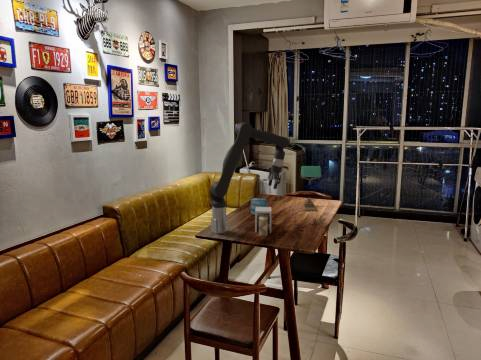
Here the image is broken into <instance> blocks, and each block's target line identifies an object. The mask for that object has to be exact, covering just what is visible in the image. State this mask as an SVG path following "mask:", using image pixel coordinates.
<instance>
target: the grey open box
mask: <svg viewBox="0 0 481 360" xmlns="http://www.w3.org/2000/svg"><path fill="white" fill-rule="evenodd" d="M257 228H259V215H257ZM268 228H269V229H270V215H268V221H267V229H268Z"/></svg>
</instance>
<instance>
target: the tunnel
mask: <svg viewBox="0 0 481 360" xmlns="http://www.w3.org/2000/svg"><path fill="white" fill-rule="evenodd" d="M257 213H266V214H269V216H270V228H269V234H271V233H272V207H271V206H267V207H256V209H255V215H254V219H255V220H254V224H255V225H254V232H255V234H256V233H257V234H258V227H257Z"/></svg>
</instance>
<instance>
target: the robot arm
mask: <svg viewBox="0 0 481 360" xmlns="http://www.w3.org/2000/svg"><path fill="white" fill-rule="evenodd" d="M234 131H235V134H236V135H237V136H236V139H235V141H234V142H233V144H232V145H231V146H230V147H229V149H228V151H227V152H226V153H225V154H226V155H225V156H224V158H223V163H222V171H221V175H220V177H219V180H218V181H214V182H213V183H211V185H210V189H209V191H210V192H209V193H210V202H211V216H212V217H210V230H211V232H212V233H213V234H216V235H217V234H218V235H219V234H225V233H227V201H226V200H225V196H226V194H227V193H228V191H229V188H230V184H231V181H232V179H233V175H234V174H235V171H236V168H237V166H238V164H239V161H240V159H241V157H242V154H243V152H244V150H245V147H246V145H247V142H248V141H249V140H250V138H252V139H256V140H259V141H260V142H261V141H262V142H264V143H268V144H270V145H274V151H275V152H274V155H273V159H272V164H271V168H270V170H269V174H268V177H267V180H269V181H268V184H267V185H268V186H269V187H271V186H272V185H273V189H274V190H277V188H278V186H279V185H280V184H281V180H282V175H280V174H281V173H282V170H283V167H284V161H285V155H286V152H285V150H284V149H285V148H288V147H290V144H291V143H290V142H291V141H290V139H289V138H288V137H286V136H283V135H282V136H281V135H277V134H275V133H272V132H270V131H265V130H261V129H257V128H253V126H252V124H251V123H249V122H245V121H243V122H238V123H237V124H236V125H235V127H234ZM273 181H274V184H273Z"/></svg>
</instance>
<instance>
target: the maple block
mask: <svg viewBox="0 0 481 360" xmlns="http://www.w3.org/2000/svg"><path fill="white" fill-rule="evenodd" d="M268 214H269V213H266V214H259V227H258V236H259V237H267V236H268V228H267V221H268V216H269V215H268Z"/></svg>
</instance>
